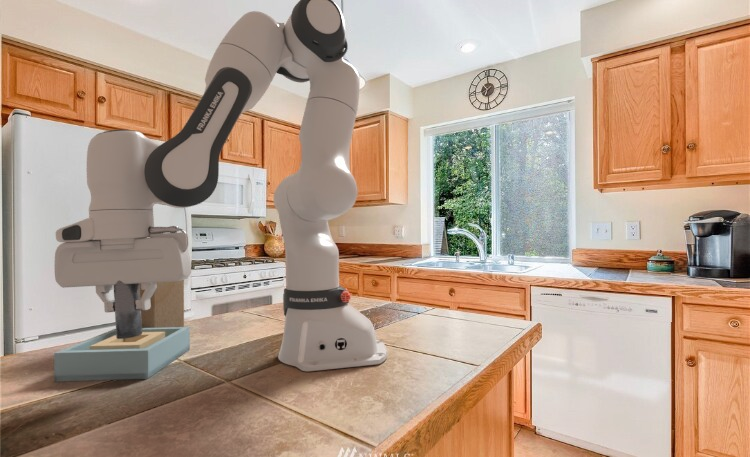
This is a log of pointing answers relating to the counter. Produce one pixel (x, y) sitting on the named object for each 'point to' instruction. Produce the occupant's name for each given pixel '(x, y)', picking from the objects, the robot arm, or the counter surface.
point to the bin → (121, 355)
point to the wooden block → (165, 306)
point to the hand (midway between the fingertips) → (128, 310)
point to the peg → (127, 310)
